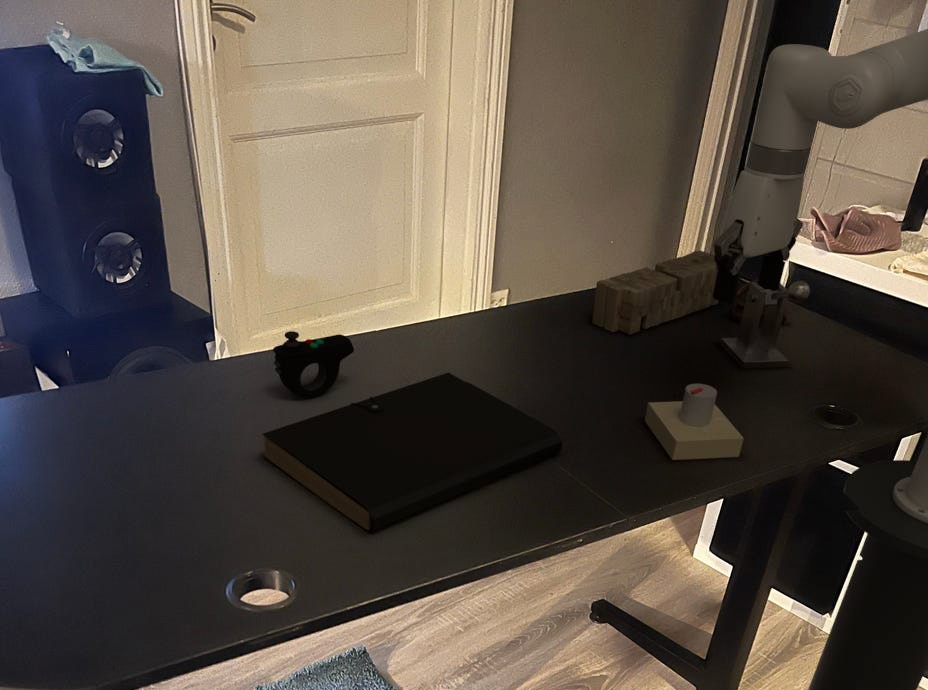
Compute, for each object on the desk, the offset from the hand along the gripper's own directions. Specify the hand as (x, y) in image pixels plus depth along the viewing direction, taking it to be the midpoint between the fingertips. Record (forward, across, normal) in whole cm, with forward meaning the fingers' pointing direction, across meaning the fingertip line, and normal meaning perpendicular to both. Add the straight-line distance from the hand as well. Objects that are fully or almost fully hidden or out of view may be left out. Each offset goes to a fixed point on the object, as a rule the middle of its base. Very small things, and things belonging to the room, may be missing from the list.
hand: (745, 294), depth 134 cm
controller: (+19, +45, -40) cm, 63 cm away
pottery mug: (+19, -40, -23) cm, 50 cm away
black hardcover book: (+19, +44, -16) cm, 51 cm away
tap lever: (+9, -23, -8) cm, 26 cm away
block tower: (+19, -26, -35) cm, 48 cm away
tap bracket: (+19, -25, -13) cm, 34 cm away
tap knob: (+16, +7, +1) cm, 18 cm away
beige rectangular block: (+19, +7, +1) cm, 21 cm away
